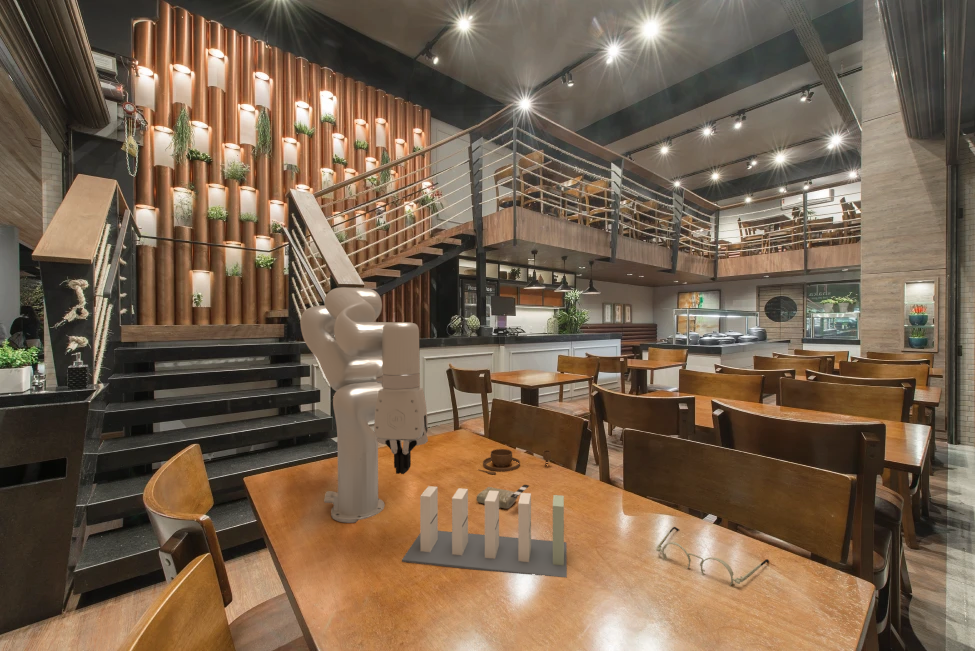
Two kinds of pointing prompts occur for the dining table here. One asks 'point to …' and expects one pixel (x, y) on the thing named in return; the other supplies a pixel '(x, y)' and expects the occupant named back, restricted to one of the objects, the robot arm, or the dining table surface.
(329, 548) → the dining table surface
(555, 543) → the end domino
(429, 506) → the domino
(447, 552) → the mat
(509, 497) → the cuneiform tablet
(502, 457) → the place setting
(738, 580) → the eyeglasses
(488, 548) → the domino
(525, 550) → the domino
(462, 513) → the domino
